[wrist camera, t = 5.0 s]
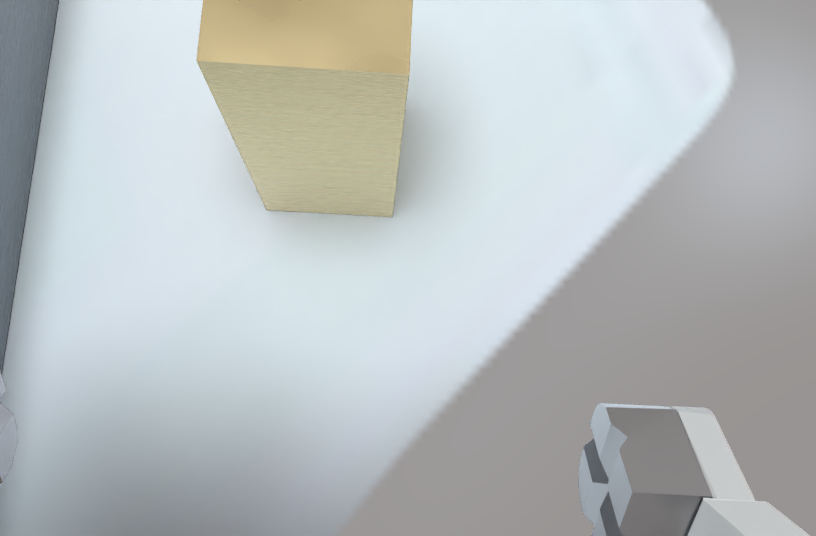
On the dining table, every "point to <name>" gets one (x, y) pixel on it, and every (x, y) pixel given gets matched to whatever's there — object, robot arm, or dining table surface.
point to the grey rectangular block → (19, 127)
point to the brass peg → (312, 97)
